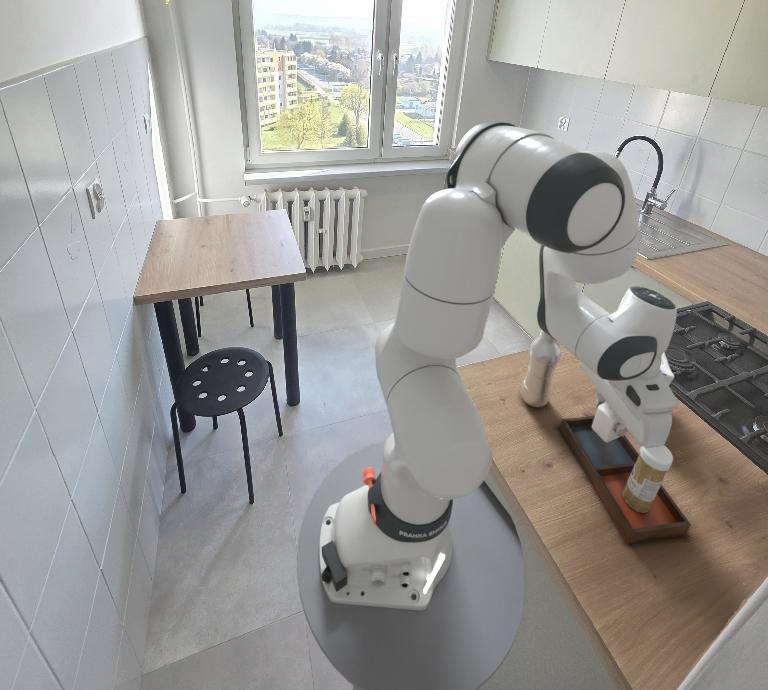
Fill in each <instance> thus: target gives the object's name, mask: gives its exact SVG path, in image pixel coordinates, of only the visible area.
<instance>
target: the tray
mask: <svg viewBox="0 0 768 690" xmlns="http://www.w3.org/2000/svg"><path fill="white" fill-rule="evenodd" d="M594 418H595V415H590V416H579V417H571V418H570V417H569V418H562V419H561V423H560V426H559V430H560V432H561V434H562V436H563V437H564V439H565V441H566V443H567V444H568V446H569V448H570V450H572V452H573V454H574V456H575V458H576V460H577V461H578V462H579V464H580V466H581V468H582V470H583V471H584V473H585V474H586V476H587V478H588V480H589V481H590V483H591V484H592V486H593V488H594V490H595V491H596V493H597V495H598V496H599V498H600V499H601V501H602V504H604V507H605V508H606V510H607V512H608V513H609V515H610V516H611V518H612V520H613V522H614V523H615V525H616V527H617V528H618V530H619V533H621V535H622V537H623V538H624V540H625V542H626V543H627V544H628V545H629V544H635V543H636V544H637V543H643V542H648V541H655V540H661V539H662V540H663V539H669V538H674V537H681V536H682V537H683V536H686V535H687V534H688V531H689V529H690V527H691V525H692V524H691V522H690V521H689V520H688V518H687V517H686V516H685V514H684V513H683V512H682V511H681V509H680V508H679V506H678V505H677V503H676V502H675V501H674V499H673V498H672V497H671V495H670V494H669V493H668V491H667V489H666V488H665V487H664V486H663V484H661V486H660V488H659V490H658V492H657V494H656V496H655V498H654V500H653V501H652V503H651V507H650V510H649V511H648V512H647V513H640V512H637V511H635V510H633V509H632V508H630V507H629V506H628V505H627V504H626V502H625V501H624V499H623V495H622V492H623V489H624V488H625V487H626V484H627V482H628V479H629V476H630V474H631V472H632V470H633V467H634V465H635V463H636V461H637V459H638V457H639V454H640V453H639V452H638V451H637V449H636V447H634V446H633V445H632V443H631V442H630V440H629V439H628V438H627V436H626V434H625V435H624V436H620V437H619V438H617V439H614V440H612V441H610V442H605V441H604V440H603V439H602V438H601V437H600V436H599V435H598V434H597V433H596V432H595V431H594V430H593V429H592V424H593V421H594Z"/></svg>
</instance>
